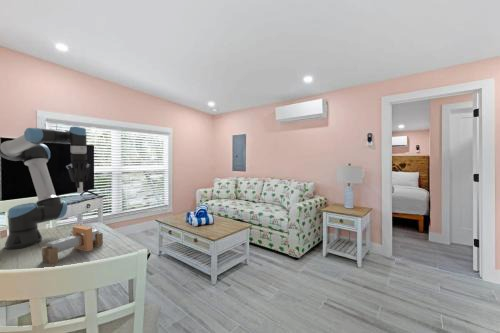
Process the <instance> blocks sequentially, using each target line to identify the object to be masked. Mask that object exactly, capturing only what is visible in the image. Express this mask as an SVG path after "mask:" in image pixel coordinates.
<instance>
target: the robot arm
mask: <svg viewBox="0 0 500 333" xmlns="http://www.w3.org/2000/svg"><path fill="white" fill-rule="evenodd" d="M87 135H88V134H87V130H86V128H85V127H82V126H70V127H69V130H58V129H50V128H49V129H48V128H39V127H28V128H26V129H25V130H24V133H23V135H21V136H19V137H16V138H14V139H12V140H6V141H3V142H1V143H0V157H1V158H3V159H6V160H9V161H14V162H17V161H19V162H20V161H22V162H23V164H24V165H25V166H27V167H28V171H29V173H30V176H31V179H32V183H33V186H34V189H35V192H36V196H37V199H38V200H37V201H36V202H28V203H27V202H26V203H21V204H18V205H14V206H12V207H9V209H8V213H7V218H8V222H7V223H8V234H7V235H8V236H7V237H6V238H7V239H6V240H5V243H4V247H5V249H7V250H15V249H24V248H27V247H32V246H35V245H37V244H40V243H41V242H42V241H43V236H42V234H41V232H40V230H39V229H38V228H39V227H38V225H39V224H40V223H45V222H46V223H47V222H50V221H55V220H58V219H62V218H64V217H65V216H66V215H67V212H68V203H67V202H66V201H65V200H63V199H61V197H60V196H58V195H56V190H55V188H54V184H53V182H52V177H51V176H50V172H49V169H48V165H47V163H48V162H49V160H50V159H51V151H50V149H49V147H48V146H47V145H46V144H44V143H51V144H64V145H69V146H70V148H69V149H70V162H69V164H68V165H66V166H65V168H66V169H67V171H68V174H69V177H70V180H71V182H73V183H75V188H76V189H77V194H84V187H85V182H87V181H88V180H89V176H90V172H91V168H92V167H93V165H92V164H89V163H88V155H87V151H88V150H87Z"/></svg>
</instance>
